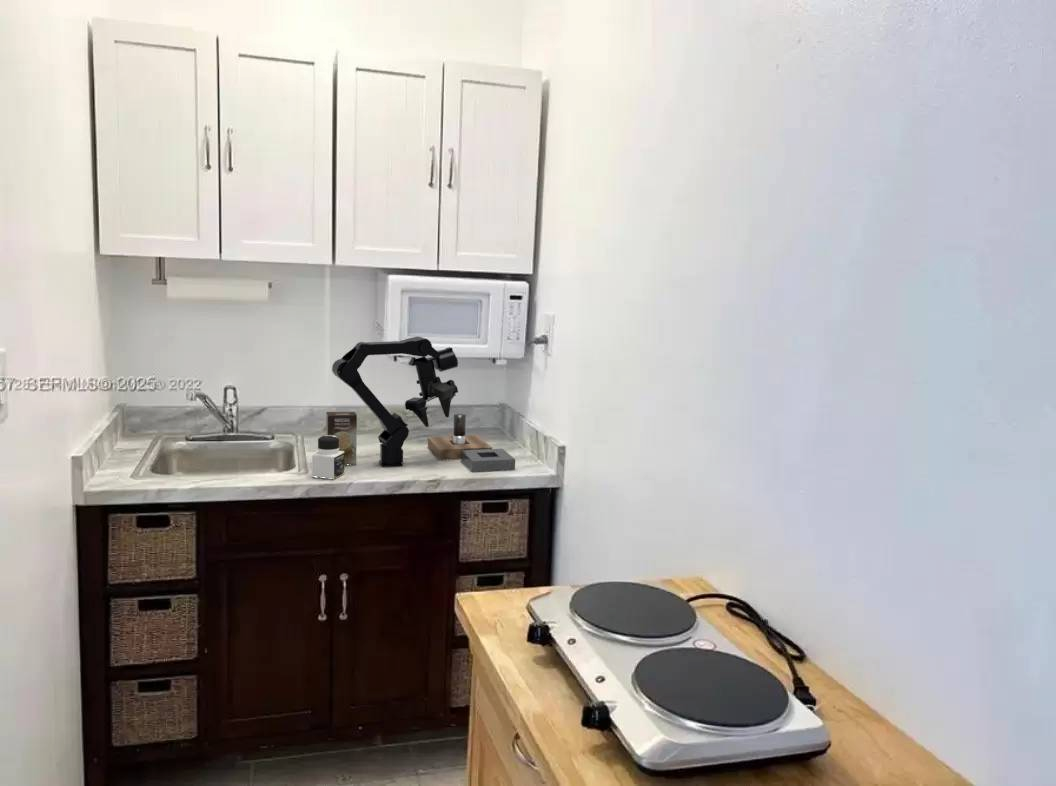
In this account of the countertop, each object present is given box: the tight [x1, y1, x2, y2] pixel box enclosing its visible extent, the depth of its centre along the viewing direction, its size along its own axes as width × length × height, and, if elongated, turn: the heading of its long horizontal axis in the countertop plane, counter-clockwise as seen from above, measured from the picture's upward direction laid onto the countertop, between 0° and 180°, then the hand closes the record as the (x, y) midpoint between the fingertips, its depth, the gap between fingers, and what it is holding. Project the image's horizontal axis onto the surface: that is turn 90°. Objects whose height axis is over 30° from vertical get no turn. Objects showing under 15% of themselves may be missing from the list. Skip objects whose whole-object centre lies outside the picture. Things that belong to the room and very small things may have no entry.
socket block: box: [460, 448, 516, 473], centre depth 256 cm, size 14×14×4 cm
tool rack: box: [427, 434, 493, 461], centre depth 271 cm, size 18×18×4 cm
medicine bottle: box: [311, 435, 346, 480], centre depth 236 cm, size 7×7×12 cm
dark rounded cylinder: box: [452, 413, 467, 445], centre depth 270 cm, size 4×4×13 cm
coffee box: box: [325, 411, 358, 466], centre depth 251 cm, size 9×6×16 cm
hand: (437, 421), depth 257 cm, fingers open, 9 cm apart
